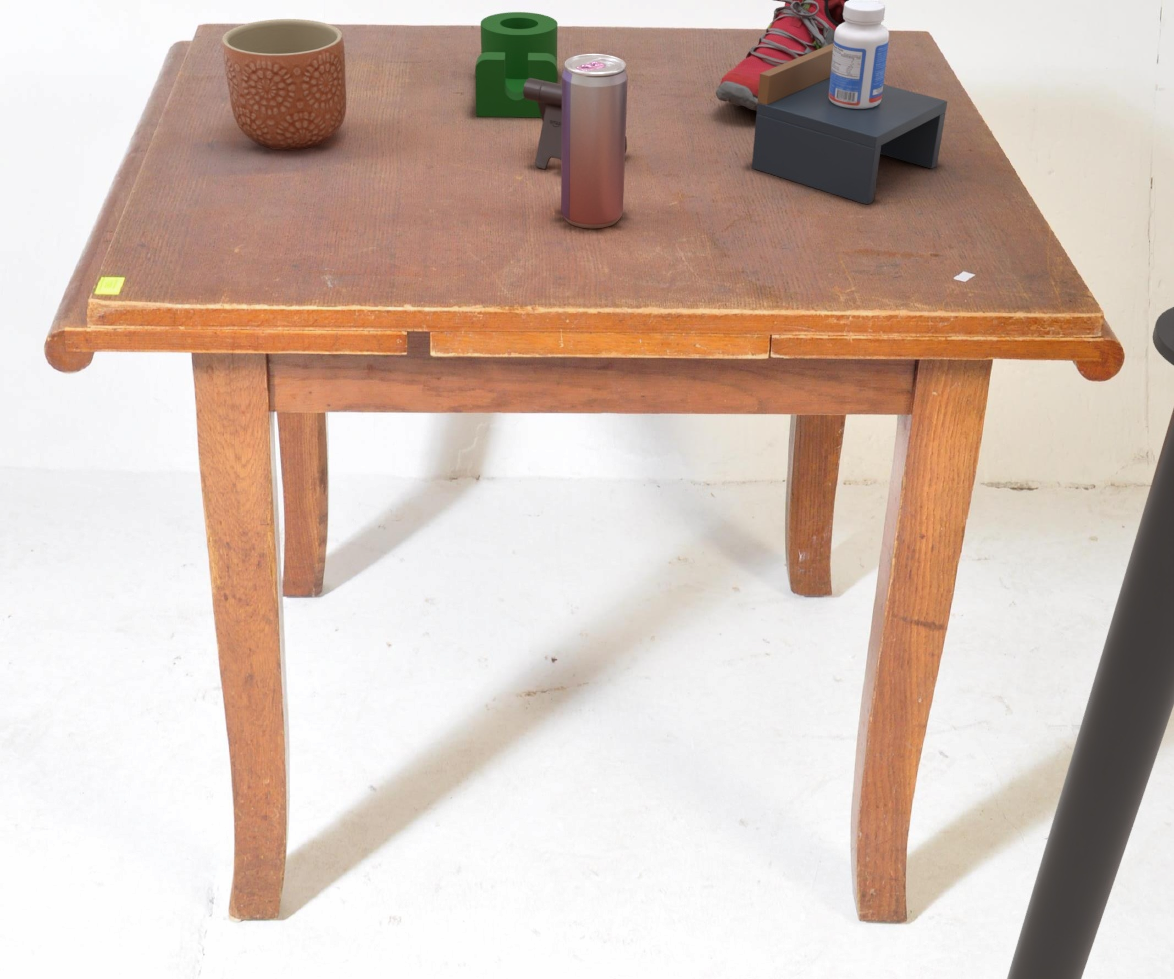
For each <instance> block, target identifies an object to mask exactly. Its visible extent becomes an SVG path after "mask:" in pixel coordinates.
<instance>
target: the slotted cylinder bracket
mask: <svg viewBox="0 0 1174 979" xmlns="http://www.w3.org/2000/svg"><path fill="white" fill-rule="evenodd" d="M480 50H481V51H480V54H479V55H478V57H477V59H476V63H475V68H474V77H475V78H474V79H475V108H476V109H475V111H476V112H475V114H476V115H475V116H476V117H483V118H485V117H487V118H542V117H541V113H540V110H539V106H538V102H537V101H532V100H527V99H525V97H524V95H523V88H524V84H525V82H526V80H527V79H529V78H533V79H538V80H542V81H547V82H552V83H557V84H558V21H557V20H556V19H554V18H553V17H551V16H549V15H546V14H541V13H535V12H525V11H512V12H511V11H507V12H501V13H496V14H491V15H488V16H486V17H483V19H481V21H480Z"/></svg>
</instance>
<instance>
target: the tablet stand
mask: <svg viewBox="0 0 1174 979" xmlns="http://www.w3.org/2000/svg"><path fill="white" fill-rule="evenodd" d="M523 95H524V97H525V99H527V100H532V101H537V102H538V106H539V110H540V113H541V117H540V118H541V122H542V125H541V130H540V134H539V139H538V140H539V141H538V145H537V151H536V155H535V160H534V166H535V167H536V168H538V169H541V170H547V168H548V165H549V162H550V160H551V159H555V160H556V159H558V160H561V145H562V83H558V82H557V83H552V82H547V81H542V80H538V79H533V78H529V79H527V80H526V82H525V84H524V88H523ZM627 141H628V140H627V137H626V139H625V154H626V153H627V149H628V144H627V143H628V142H627Z"/></svg>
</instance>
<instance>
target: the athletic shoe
mask: <svg viewBox="0 0 1174 979" xmlns="http://www.w3.org/2000/svg"><path fill="white" fill-rule="evenodd" d="M773 1H775V2H781V3H784V5H783V6H779V7H776V8H775V9H774V10H773V17H772V21H771V22H770V23H769V24H768V26H767V28H766V31H765V33H764V34H762V35H761V36H760V37H759V39H758V44H757V45H754V46H751V47H750V48H749V50H748V52H747V54H746V55H745V58H744V59H743V60H741V61H740V62H739V63H738V64H737V65H736V66H735V67H734V68H732V69H731V70H729V71H728V72H727V73H726V74H725V75H724V76H723V77H721V79H720V80H721V81H720V84H719V86H717V88H716V90H715V96H716V98H717V100H719V101H721V102H728V103H729V104H732V105H735V106H743V107H745V108H747V109H749V110H751V111H756V112H757V103H758V102H757V101H758V90H759V79H760V73H762V72H765V71H767V70H770V69H772V68H775V67H777V66H779V65H782V64H784V63H787V62H789V61H792V60H794V59H796V58H799V57H801V56H804V55H806V54H809V53H811V52H813V51H816V50H818V49H821V48H823V47H826V46H828V45H830V44H833V43H834V34H835V30H836V28H837V27H838V26H839V25H840V24H842V23H844V22H845V20H844V18H843V11H844V4H845V2H846V1H849V0H773Z"/></svg>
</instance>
